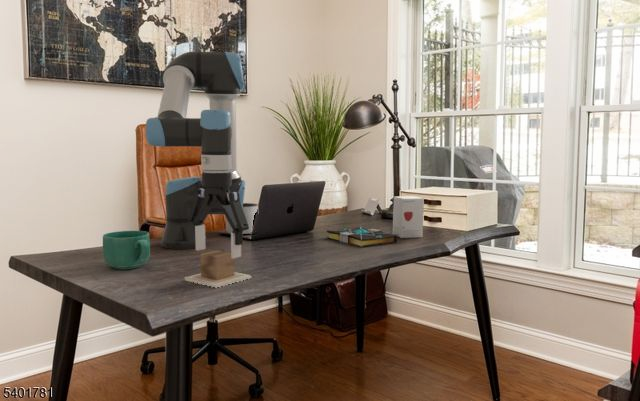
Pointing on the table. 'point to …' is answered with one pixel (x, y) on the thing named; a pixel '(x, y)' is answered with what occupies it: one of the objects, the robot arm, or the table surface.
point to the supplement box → (408, 216)
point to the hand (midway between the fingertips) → (217, 253)
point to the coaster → (217, 283)
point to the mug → (126, 249)
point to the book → (362, 236)
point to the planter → (249, 214)
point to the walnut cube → (217, 265)
